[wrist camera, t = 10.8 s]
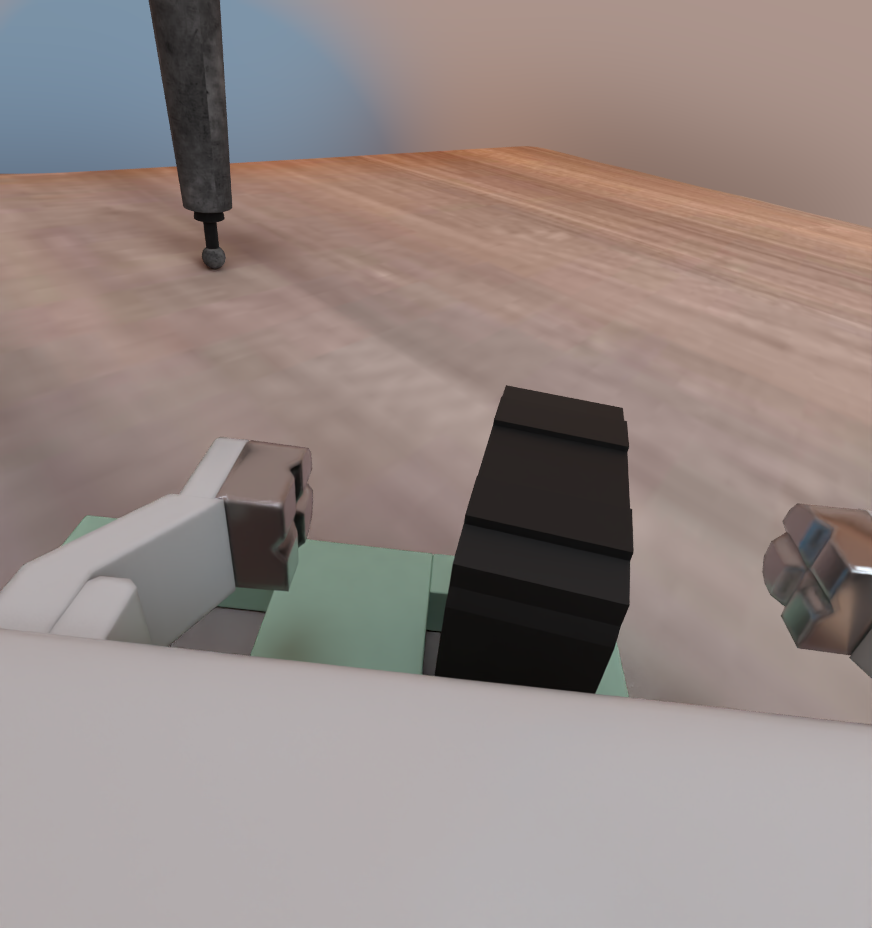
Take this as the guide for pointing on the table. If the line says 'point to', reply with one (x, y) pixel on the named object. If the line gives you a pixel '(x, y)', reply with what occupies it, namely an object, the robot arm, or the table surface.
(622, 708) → the robot arm
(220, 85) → the microphone
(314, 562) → the holder
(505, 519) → the ink cartridge
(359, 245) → the table surface
